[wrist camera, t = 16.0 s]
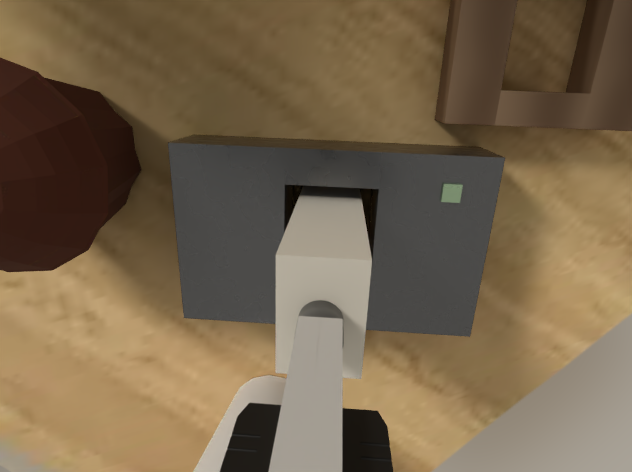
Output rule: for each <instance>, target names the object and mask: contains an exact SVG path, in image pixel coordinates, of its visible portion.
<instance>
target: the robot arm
mask: <svg viewBox="0 0 632 472" xmlns="http://www.w3.org/2000/svg"><path fill="white" fill-rule="evenodd" d="M342 365H343V319H339V318H323V317H308V316H299V317H298V322H297V327H296V332H295V337H294V343H293V348H292V353H291V358H290V363H289V368H288V374H287V379H286V384H285V389H284V394H283V399H282V404H281V405H275V404H261V403H249V404H248V405H247V406H246V407H245V408H244V409H243V410H242V412H241V413H240V414H239V415H238V416H237V419H236V422H235V425H234V428H233V431H232V436H231V438H230V441H229V444H228V447H227V451H226V453H225V456H224V459H223V463H222V466H221V469H220V472H393V467H392V462H391V451H390V447H389V445H390V444H389V436H388V429H387V425H386V424H385V422H384V420H383V419H382V417H381V416H380V414H379V412H378V411H372V410H358V409H345V408H342Z"/></svg>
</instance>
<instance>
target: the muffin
mask: <svg viewBox="0 0 632 472" xmlns="http://www.w3.org/2000/svg"><path fill="white" fill-rule="evenodd" d="M140 171H141V167H140V164H139V160H138V157H137V154H136V151H135V146H134V138H133V130H132V126H130V125H129V124H128V123H127V122H126V121H125V120H124V119H123V118H122V117H121V116H119V115H118V114H117V113H116V112H115V111H114V110H113V109H112V107H111V106H110V105H109V104H108V102H107V101H106V100H105V99H104V97H103V96H102V95H101V94H100V92H98V91H94V90H90V89H86V88H82V87H78V86H74V85H70V84H66V83H63V82H59V81H55V80H52V79H48V78H44V77H42V76H41V75H40V74H39V73H38V72H36V71H34V70H31V69H28V68H26V67H23V66H21V65H18V64H15V63H13V62H10V61H8V60H5V59H3V58H0V270H3V271H6V272H24V271H48V270H54V269H56V268H57V267H59V266H61V265H63V264H64V263H66V262H68V261H70V260H72V259H73V258H75V257H77V256H79V255H80V254H82V253H84V252H86V251H87V250H88V249H89V248H90V246H91V244H92V242H93V240H94V239H95V237H96V235H97V233H98V231H99V229H100V228H101V227H102V226H103V225H104V224H105V223H106V222H107V221H108V220H109V219H110V218H111V217H113V216H114V215H115V214H116V213H117V212H118V211H119V210H120V209H121V208H122V207H123V206H124V205H125V204H126V202H127V199H128V196H129V193H130V190H131V187H132V185H133V183H134V181H135V180H136V178H137V176H138V175H139V173H140Z"/></svg>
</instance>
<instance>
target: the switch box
mask: <svg viewBox="0 0 632 472" xmlns="http://www.w3.org/2000/svg"><path fill="white" fill-rule="evenodd" d="M168 148H169V159H170V170H171V181H172V192H173V203H174V214H175V225H176V236H177V247H178V258H179V269H180V280H181V291H182V302H183V313H184V318H193V319H208V320H224V321H239V322H254V323H270V324H276V253H277V250H278V248H279V245H280V243H281V240H282V238H283V235H284V233H285V230H286V228H287V225H288V223H289V220H290V218H291V215H292V203H293V185H305V186H326V187H346V188H367V189H372V200H371V212H370V223H369V235H368V239H369V245H370V251H371V257H372V267H371V278H370V289H369V300H368V311H367V322H366V330H377V331H393V332H408V333H423V334H439V335H454V336H469V337H470V334H471V329H472V324H473V319H474V314H475V308H476V303H477V298H478V293H479V288H480V283H481V278H482V273H483V268H484V263H485V258H486V253H487V248H488V242H489V237H490V232H491V227H492V222H493V217H494V212H495V207H496V202H497V197H498V192H499V187H500V182H501V176H502V171H503V166H504V161H505V157H502V156H500V155H498V154H495V153H493V152H491V151H488V150H486V149H484V148H481V147H464V146H441V145H418V144H395V143H372V142H349V141H326V140H303V139H281V138H258V137H235V136H212V135H191V136H188V137H185V138H181V139H178V140H175V141H172V142H169V143H168Z"/></svg>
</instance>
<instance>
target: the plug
mask: <svg viewBox="0 0 632 472" xmlns="http://www.w3.org/2000/svg"><path fill="white" fill-rule="evenodd" d="M371 267H372V257H371V251H370V245H369V239H368V234H367V228H366V222H365V216H364V210H363V204H362V199H361V193H360V188H346V187H326V186H305V185H303V188H302V190H301V193H300V195H299V198H298V200H297V203H296V205H295V208H294V210H293V213H292V215H291V218H290V220H289V223H288V225H287V228H286V230H285V233H284V235H283V238H282V240H281V243H280V245H279V248H278V250H277V253H276V373H284V374H288V368H289V363H290V358H291V353H292V348H293V343H294V337H295V332H296V327H297V322H298V317H299V316H308V317H323V318H339V319H343V365H342V378H355V379H361V376H362V365H363V355H364V344H365V333H366V322H367V311H368V300H369V289H370V278H371Z"/></svg>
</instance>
